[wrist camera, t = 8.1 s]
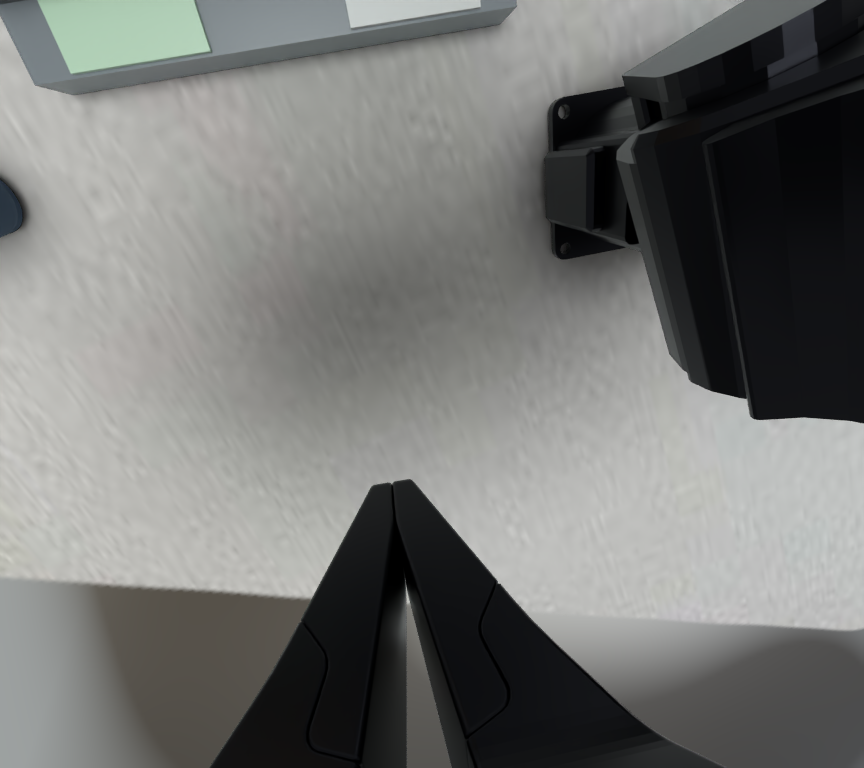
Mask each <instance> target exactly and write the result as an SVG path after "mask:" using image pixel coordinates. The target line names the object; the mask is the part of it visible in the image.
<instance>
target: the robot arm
mask: <svg viewBox="0 0 864 768" xmlns="http://www.w3.org/2000/svg"><path fill="white" fill-rule="evenodd" d="M622 77H623V81H624V85H625V86H624V87H618V88H613V89H607V90H601V91H596V92H590V93H584V94H579V95H573V96H567V97H563V98H560V99H558V100H555V101H554V102H553V103H552V105H551V107H550V109H549V153H548V154H547V156H546V157H545V159H544V164H545V196H546V218H547V219H548V220H549V221H551V232H552V252H553V254H554V255H555V256H556V257H558V258H560V259H570V258H575V257H580V256H585V255H590V254H595V253H600V252H605V251H611V250H616V249H621V248H626V247H627V248H630V249H634V250H637V251H641V252H642V255H643V259H644V263H645V266H646V270H647V274H648V277H649V281H650V285H651V288H652V292H653V296H654V299H655V303H656V307H657V310H658V314H659V318H660V321H661V325H662V329H663V332H664V336H665V340H666V343H667V347H668V351H669V354H670V355H671V357H672V358H673V359H674V360H675V361H676V362H677V364H678V365H679V366H680V367H681V368H682V369H683V370H684V371H686V372H687V374H688V378H689V380H690V381H691V382H692V383H695V384H697V385H699V386H701V387H703V388H705V389H708V390H710V391H713V392H717V393H721V394H726V395H730V396H734V397H738V398H744V399H747V402H748V407H749V413H750V416H751V417H752V418H753V419H756V420H768V419H785V418H801V417H806V418H820V419H833V420H847V421H854V422H859V423H864V0H745V1H743V2H741V3H740V4H738V5H737V6H735V7H733V8H732V9H730V10H728V11H727V12H725V13H723V14H722V15H720V16H718V17H717V18H715V19H713V20H712V21H710V22H709V23H707V24H705V25H704V26H702V27H700V28H699V29H697V30H695V31H694V32H692V33H690V34H689V35H687V36H685V37H684V38H682V39H681V40H679V41H677V42H676V43H674V44H672V45H671V46H669V47H667V48H666V49H664V50H662V51H661V52H659V53H658V54H656V55H654V56H653V57H651V58H649V59H648V60H646V61H644V62H643V63H641V64H639V65H638V66H636V67H634V68H633V69H631V70H630V71H628V72H626V73H625V74H623V75H622ZM560 106H564V108H565V110H566V114H565V117H564V118H563V119H561V118H560V117H559V115H558V110H559V108H560ZM564 243H566V244H567V249H566V251H565V252H563V253H561V251H560V248H561V246H562V245H563V244H564ZM405 580H406V583H405ZM406 586H407V591H408V596H409V600H410V604H411V608H412V612H413V616H414V620H415V624H416V628H417V632H418V636H419V640H420V643H421V648H422V652H423V656H424V660H425V664H426V667H427V671H428V675H429V680H430V683H431V687H432V691H433V695H434V700H435V703H436V707H437V711H438V715H439V719H440V723H441V727H442V731H443V735H444V739H445V743H446V747H447V751H448V755H449V759H450V763H451V766H452V768H727V767H725V766H723V765H721V764H719V763H716V762H714V761H712V760H710V759H708V758H706V757H704V756H702V755H700V754H698V753H696V752H693V751H691V750H689V749H687V748H685V747H683V746H681V745H679V744H677V743H675V742H673V741H671V740H669V739H668V738H666V737H664V736H663V735H661V734H659V733H658V732H656V731H655V730H653V729H652V728H651V727H649V726H647V725H646V724H645V723H643V722H642V721H641V720H640V719H638V718H637V717H636V716H635V715H633V714H632V713H631V712H630V711H629V710H628V709H627V708H625V707H624V706H623V705H622V704H621V703H620V702H619V701H618V700H616V699H615V698H614V697H613V696H612V695H611V694H610V693H609V692H608V691H607V690H606V689H605V688H604V687H603V686H601V685H600V684H599V683H598V682H597V681H596V680H595V679H594V678H593V677H592V676H591V675H589V673H587V672H586V671H585V670H584V669H583V668H582V667H581V666H580V665H579V664H578V663H577V662H575V660H573V659H572V658H571V657H570V656H569V655H568V654H567V653H566V652H565V651H564V650H563V649H562V648H561V647H559V646H558V645H557V644H556V643H555V642H554V641H553V640H552V639H551V638H550V637H549V636H548V635H547V634H546V633H545V632H544V631H543V630H542V629H541V628H540V627H539V626H538V625H537V624H536V623H535V622H534V621H533V620H532V619H531V618H530V617H529V616H528V615H527V614H526V613H525V611H524V610H523V609H522V608H521V607H520V606H519V605H518V604H517V603H516V602H515V600H514V599H513V598H512V597H511V596H510V595H509V593H508V592H507V591H506V590H505V589H504V588H503V586H502V585H501V584H498V581H497V580H496V578H495V577H494V576H493V575H492V574H491V573H490V571H489V570H488V569H487V568H486V567H485V565H484V564H483V563H482V562H481V561H480V560H479V558H478V557H477V556H476V555H475V554H474V552H473V551H472V550H471V549H470V548H469V547H468V545H467V544H466V543H465V542H464V541H463V539H462V538H461V537H460V536H459V535H458V534H457V532H456V531H455V530H454V529H453V528H452V526H451V525H450V524H449V523H448V522H447V521H446V519H445V518H444V517H443V516H442V515H441V514H440V512H439V511H438V510H437V509H436V508H435V506H434V505H433V504H432V503H431V502H430V501H429V499H428V498H427V497H426V496H425V495H424V493H423V492H422V491H421V490H420V489H419V488H418V486H417V485H416V484H415V483H414V482H413V481H412V480H411V479H407V480H401V481H395V482H394V483H393V484H391V483H383V484H377V485H373V486H372V487H371V489H370V490H369V492H368V494H367V496H366V498H365V500H364V502H363V504H362V505H361V507H360V509H359V511H358V513H357V515H356V517H355V519H354V520H353V522H352V524H351V526H350V528H349V530H348V532H347V534H346V535H345V537H344V539H343V541H342V543H341V545H340V547H339V549H338V551H337V552H336V554H335V556H334V558H333V560H332V562H331V564H330V566H329V567H328V569H327V571H326V573H325V575H324V577H323V579H322V581H321V582H320V584H319V586H318V588H317V590H316V592H315V594H314V596H313V597H312V599H311V601H310V603H309V605H308V607H307V609H306V611H305V612H304V614H303V616H302V618H301V622H300V623H298V625H297V627H296V629H295V631H294V633H293V635H292V636H291V638H290V640H289V642H288V644H287V646H286V648H285V649H284V651H283V653H282V655H281V656H280V658H279V660H278V662H277V663H276V665H275V667H274V669H273V670H272V672H271V674H270V675H269V677H268V679H267V680H266V682H265V683H264V685H263V686H262V688H261V689H260V691H259V693H258V694H257V696H256V697H255V699H254V700H253V702H252V704H251V706H250V707H249V708H248V710H247V711H246V713H245V714H244V716H243V717H242V719H241V720H240V722H239V724H238V725H237V726H236V728H235V729H234V731H233V732H232V734H231V736H230V737H229V738H228V740H227V741H226V743H225V744H224V746H223V747H222V749H221V750H220V752H219V754H218V755H217V757H216V758H215V760H214V761H213V763H212V764H211V766H210V767H209V768H407V687H406V686H407V671H406V670H407V667H406V666H407V657H406V656H407V654H406V653H407V647H406V645H407V642H406V639H407V636H406V635H407V634H406V633H407V631H406V630H407V626H406Z"/></svg>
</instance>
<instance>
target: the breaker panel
mask: <svg viewBox="0 0 864 768" xmlns="http://www.w3.org/2000/svg"><path fill="white" fill-rule="evenodd" d="M516 7H517V2H516V0H0V16H1V18H2V20H3V22H4V24H5V26H6V28H7V30H8V32H9V34H10V36H11V38H12V40H13V42H14V44H15V46H16V48H17V50H18V52H19V54H20V56H21V58H22V60H23V62H24V64H25V66H26V68H27V70H28V72H29V74H30V76H31V78H32V80H33V82H34V84H35V86H39V87H43V88H47V89H51V90H55V91H59V92H63V93H66V94H70V95H76V94H82V93H89V92H95V91H101V90H107V89H113V88H119V87H125V86H131V85H137V84H143V83H149V82H155V81H161V80H167V79H173V78H179V77H185V76H191V75H197V74H203V73H209V72H215V71H221V70H227V69H233V68H239V67H245V66H251V65H257V64H263V63H269V62H276V61H282V60H288V59H294V58H300V57H306V56H312V55H318V54H324V53H330V52H336V51H342V50H348V49H354V48H360V47H366V46H372V45H378V44H384V43H390V42H396V41H402V40H408V39H414V38H420V37H426V36H432V35H438V34H444V33H450V32H456V31H463V30H469V29H475V28H481V27H487V26H493V25H499V24H501V23H502V22H503V21H504V19H505V18H506V17H507V16H508V15H509V14H510V13H511V12H512V11H513V10H514V9H515V8H516Z"/></svg>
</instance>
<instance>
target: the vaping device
mask: <svg viewBox="0 0 864 768" xmlns="http://www.w3.org/2000/svg"><path fill="white" fill-rule="evenodd" d="M22 217H23V215H22V209H21V206H20V204H19V202H18V199H17V198H16V196H15V195H14V193H13V192H12V191H11V189H10V188H9V187H8V186H7V185H6V184H5V183H4V182H2V181H1V180H0V237H2V236H4V235H7V234H9V233H12V232H14V231H16V230H17V229H18V228H19V227H20V225H21V223H22Z"/></svg>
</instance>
